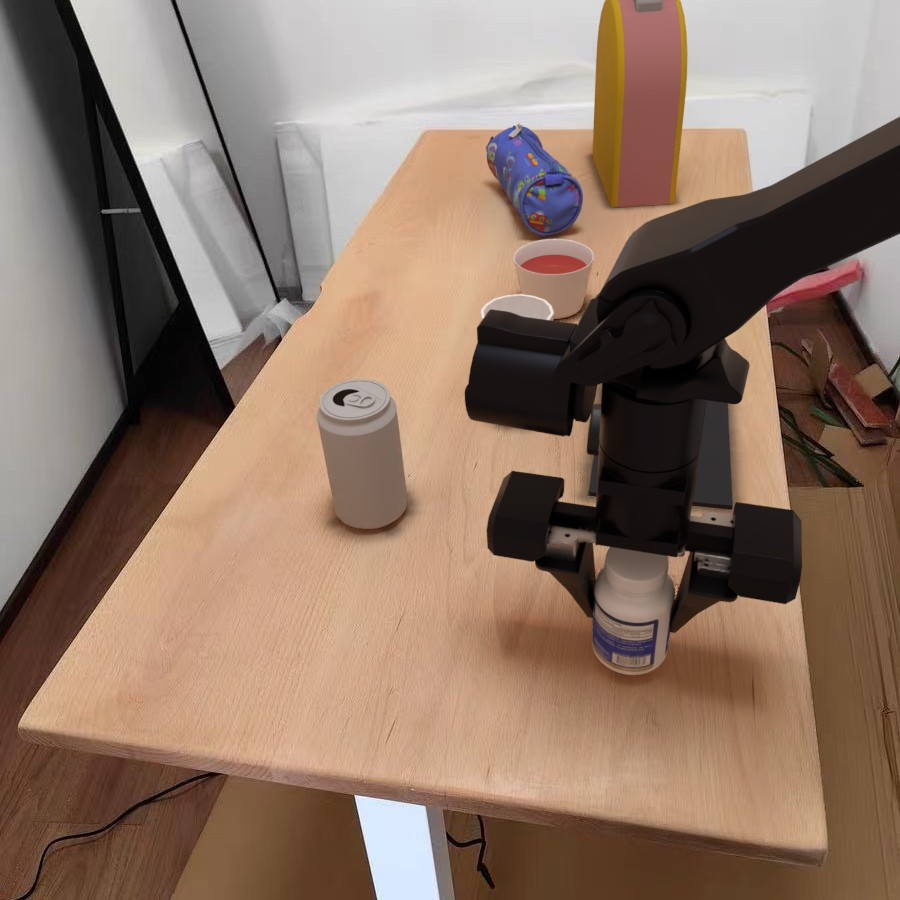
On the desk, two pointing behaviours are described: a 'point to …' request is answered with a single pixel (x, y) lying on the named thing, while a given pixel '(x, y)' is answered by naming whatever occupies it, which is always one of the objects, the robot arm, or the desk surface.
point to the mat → (705, 461)
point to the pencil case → (534, 181)
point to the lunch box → (639, 100)
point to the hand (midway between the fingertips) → (632, 620)
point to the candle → (555, 273)
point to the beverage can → (363, 453)
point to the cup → (521, 306)
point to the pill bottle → (632, 611)
